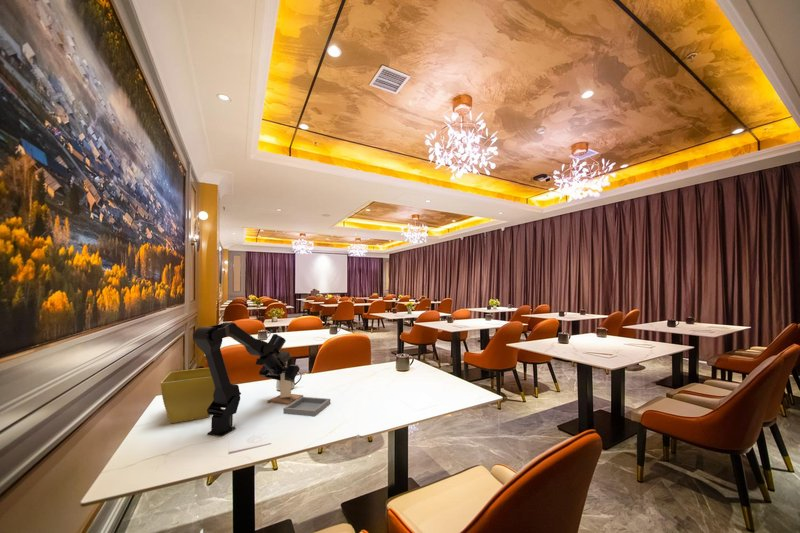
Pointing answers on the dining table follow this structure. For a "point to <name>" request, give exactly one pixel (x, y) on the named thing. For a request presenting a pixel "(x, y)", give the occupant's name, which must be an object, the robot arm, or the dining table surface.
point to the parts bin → (307, 406)
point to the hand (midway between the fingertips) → (287, 380)
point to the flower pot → (187, 394)
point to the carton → (285, 387)
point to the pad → (285, 399)
